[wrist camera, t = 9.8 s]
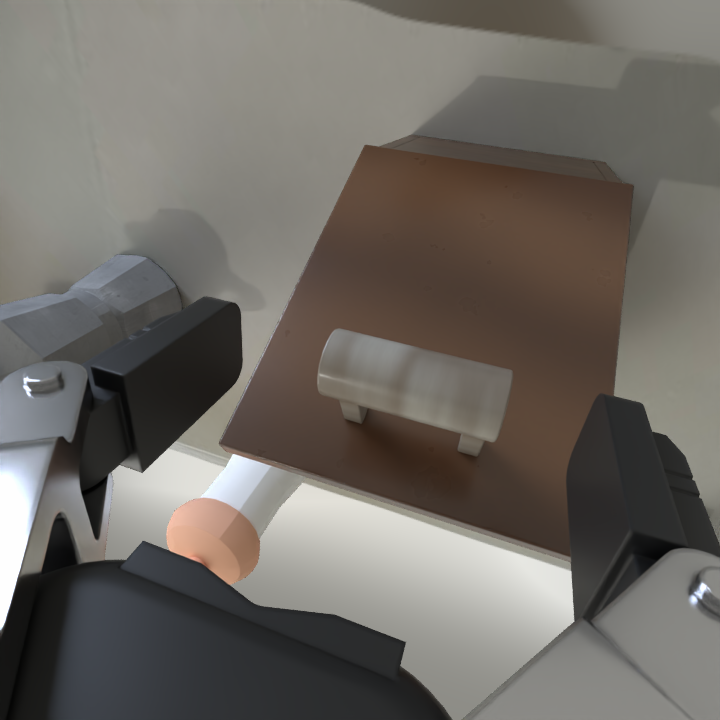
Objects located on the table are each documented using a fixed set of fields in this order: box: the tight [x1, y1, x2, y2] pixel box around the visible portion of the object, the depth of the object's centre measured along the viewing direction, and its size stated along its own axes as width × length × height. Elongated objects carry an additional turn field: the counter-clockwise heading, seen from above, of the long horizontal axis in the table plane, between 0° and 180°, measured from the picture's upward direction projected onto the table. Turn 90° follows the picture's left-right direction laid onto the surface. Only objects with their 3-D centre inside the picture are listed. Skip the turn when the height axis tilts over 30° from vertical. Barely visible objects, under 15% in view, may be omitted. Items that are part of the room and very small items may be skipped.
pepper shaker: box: [167, 454, 306, 585], centre depth 40 cm, size 7×7×19 cm
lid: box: [219, 145, 634, 562], centre depth 17 cm, size 16×13×5 cm
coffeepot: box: [0, 255, 183, 381], centre depth 40 cm, size 15×9×18 cm, turn 68°
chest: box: [379, 135, 622, 183], centre depth 31 cm, size 16×13×10 cm
